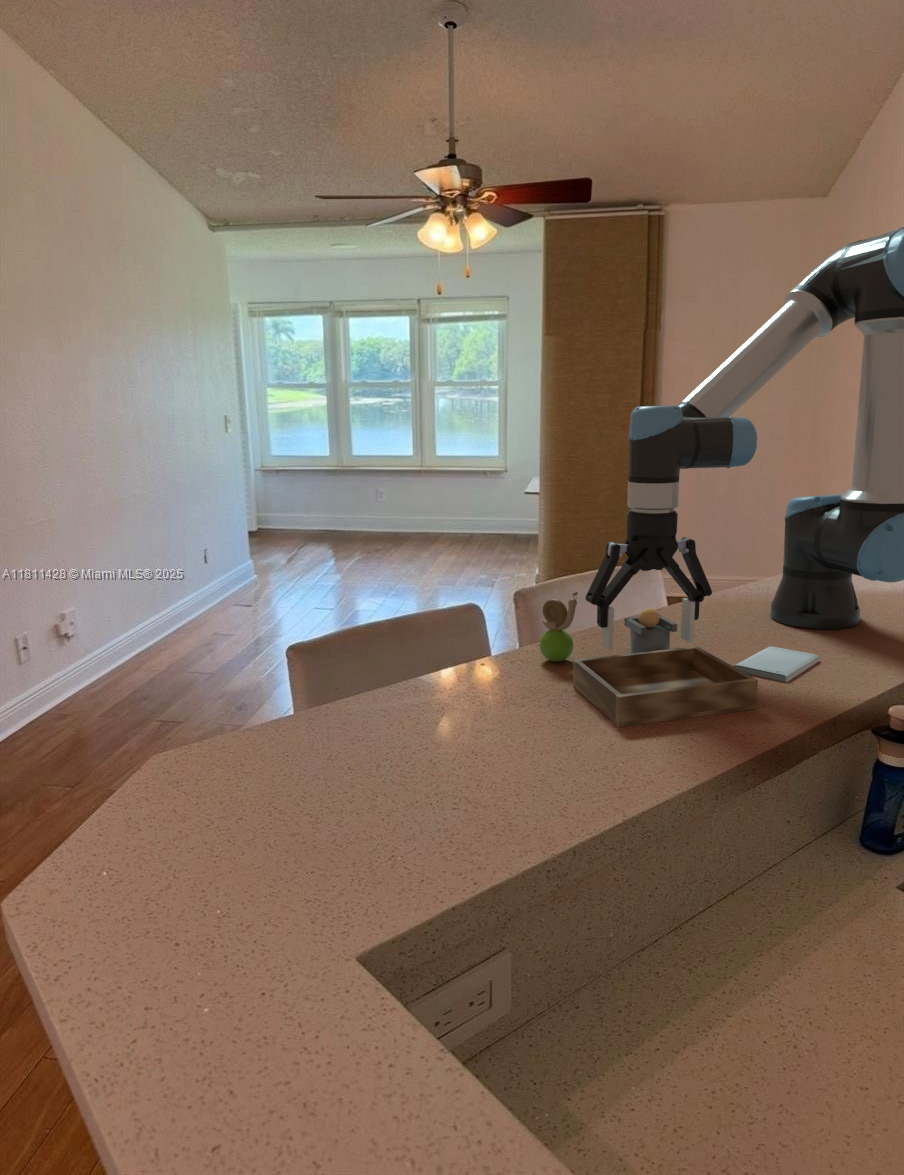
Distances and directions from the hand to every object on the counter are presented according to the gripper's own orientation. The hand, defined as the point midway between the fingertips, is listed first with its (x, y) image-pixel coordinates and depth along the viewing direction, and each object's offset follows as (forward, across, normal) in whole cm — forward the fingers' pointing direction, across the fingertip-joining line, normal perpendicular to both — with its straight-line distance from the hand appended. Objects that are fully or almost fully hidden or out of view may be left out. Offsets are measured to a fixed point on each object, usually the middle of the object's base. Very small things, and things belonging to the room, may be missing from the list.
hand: (647, 643), depth 125 cm
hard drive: (+4, -18, +7) cm, 20 cm away
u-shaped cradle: (+4, 0, 0) cm, 4 cm away
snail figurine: (+4, +12, -6) cm, 14 cm away
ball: (-4, 0, 0) cm, 4 cm away
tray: (+4, +4, +14) cm, 15 cm away
